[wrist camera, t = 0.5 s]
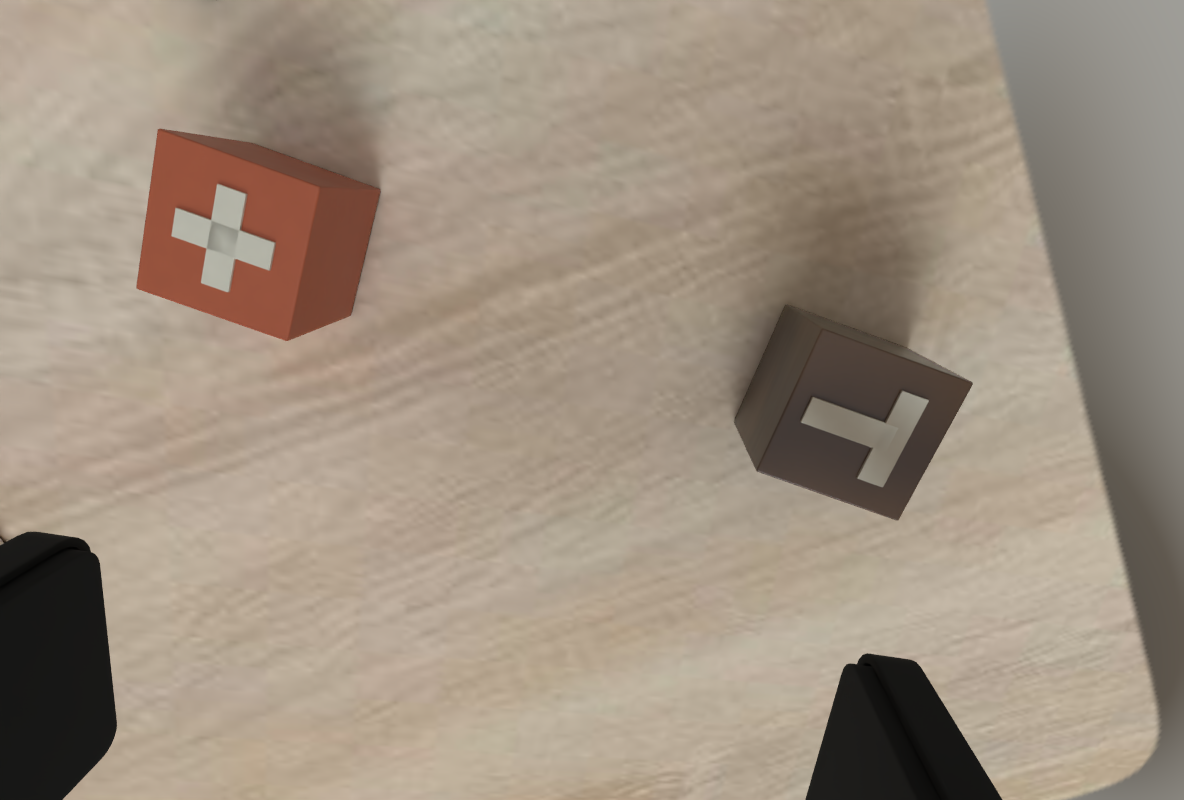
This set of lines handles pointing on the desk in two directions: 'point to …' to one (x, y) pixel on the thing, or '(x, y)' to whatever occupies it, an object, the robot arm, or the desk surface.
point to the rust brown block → (253, 234)
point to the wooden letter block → (846, 412)
